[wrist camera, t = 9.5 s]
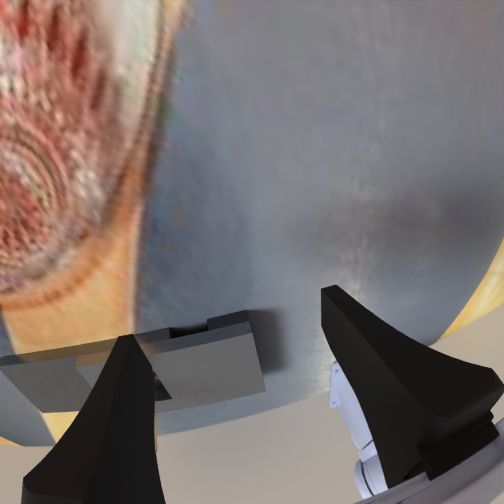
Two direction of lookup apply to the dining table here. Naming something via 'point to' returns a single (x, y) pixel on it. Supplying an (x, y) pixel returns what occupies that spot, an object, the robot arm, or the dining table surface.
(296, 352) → the dining table surface
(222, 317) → the link
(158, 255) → the dining table surface
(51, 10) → the dining table surface
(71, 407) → the link
